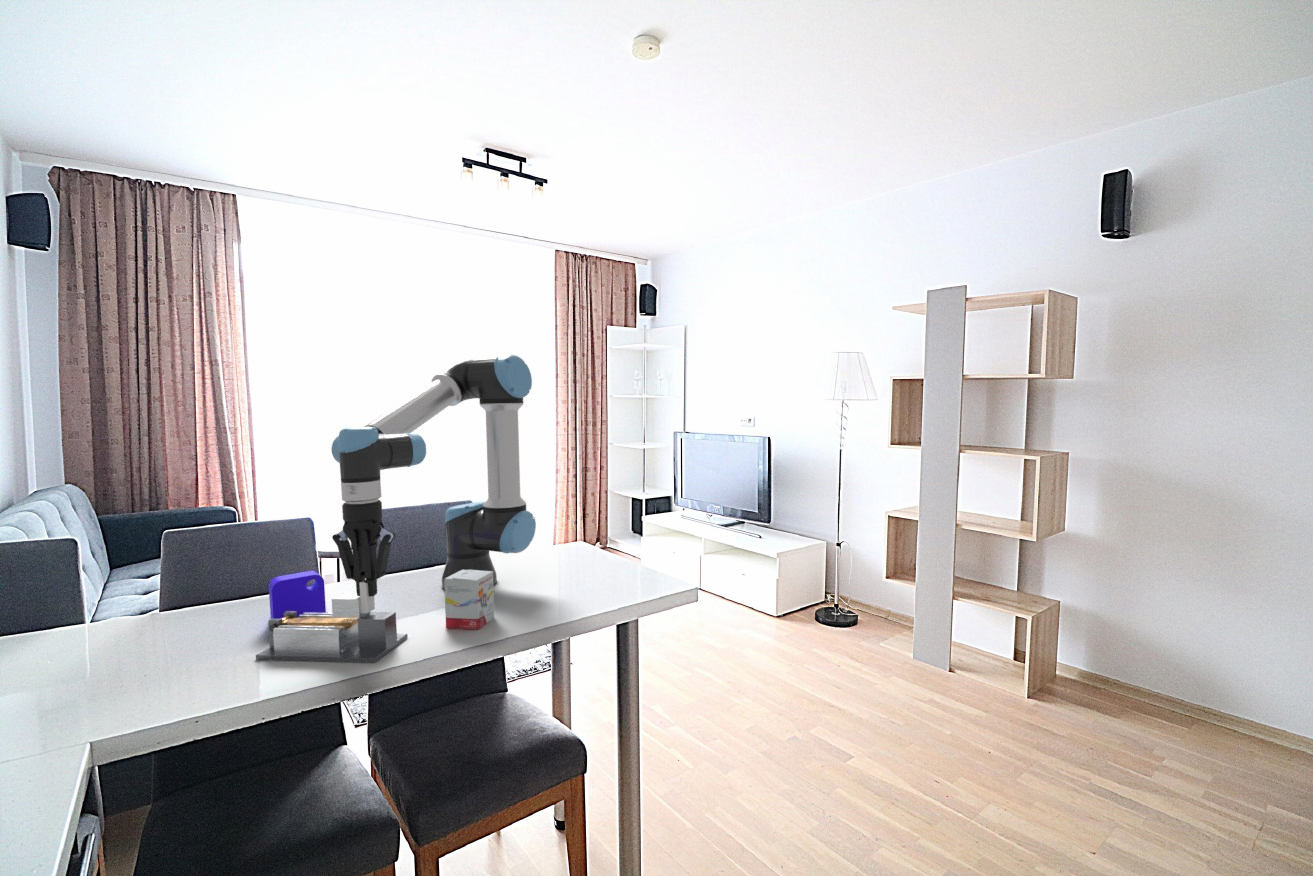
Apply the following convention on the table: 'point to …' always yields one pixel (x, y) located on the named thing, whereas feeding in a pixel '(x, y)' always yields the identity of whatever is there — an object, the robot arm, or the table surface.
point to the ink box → (469, 599)
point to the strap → (319, 621)
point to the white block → (347, 606)
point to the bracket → (296, 594)
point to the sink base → (360, 652)
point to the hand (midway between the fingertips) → (367, 610)
